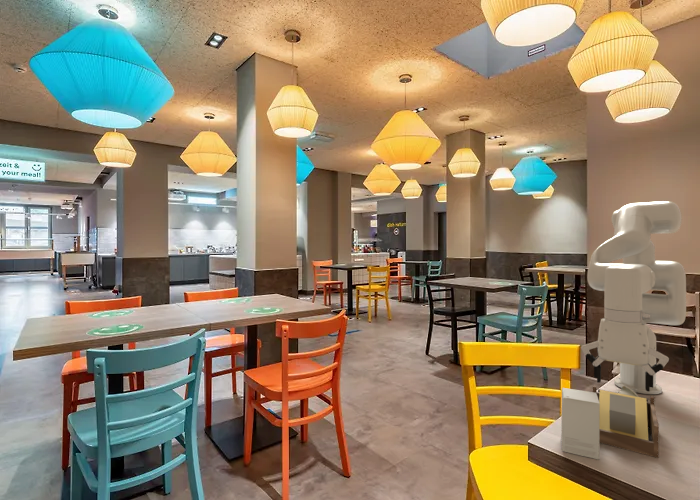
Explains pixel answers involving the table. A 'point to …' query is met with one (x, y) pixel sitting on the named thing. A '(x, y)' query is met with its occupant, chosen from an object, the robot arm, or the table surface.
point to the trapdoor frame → (633, 442)
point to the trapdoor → (640, 409)
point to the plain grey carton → (622, 414)
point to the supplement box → (580, 423)
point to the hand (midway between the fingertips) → (622, 385)
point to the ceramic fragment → (627, 391)
